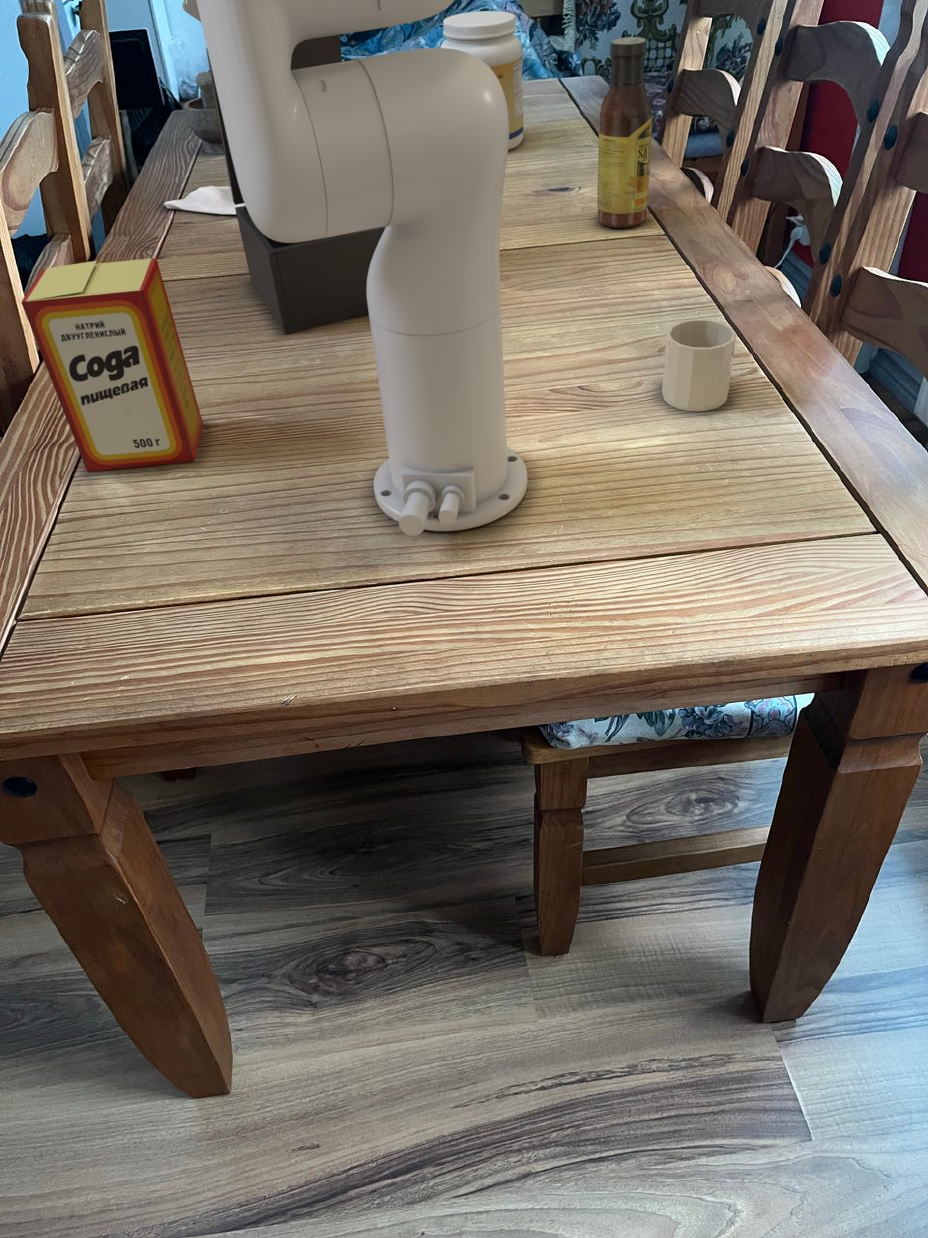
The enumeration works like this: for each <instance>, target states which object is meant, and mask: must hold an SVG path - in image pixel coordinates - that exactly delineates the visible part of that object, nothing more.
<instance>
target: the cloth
mask: <svg viewBox="0 0 928 1238" xmlns="http://www.w3.org/2000/svg"><path fill="white" fill-rule="evenodd" d="M162 204H163V206H164V207H165V208H166V209H172V210H181V211H187V212H193V213H195V212H196V213H203V214H205V213H206V214H218V215H234V216H235V215H236V210H235V208H236V207H240V206H245V203H242V204H237V205H235V204H234V202H233V198H232V193H231V187H230V186H214V185H209V186H200V187H198V188H197V189H196V190H194V191H191V192H190V193H188V195H187V196H186V197H184V198H182V199H174V200H167V201H165V202H164V203H162ZM236 216H237V215H236Z"/></svg>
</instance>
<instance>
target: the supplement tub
mask: <svg viewBox="0 0 928 1238" xmlns="http://www.w3.org/2000/svg"><path fill="white" fill-rule="evenodd" d="M442 23H443V31H442V35H443V37H444V38H445V40H443V41H442V43H441V45H440V47H439V48H448V49H456V50H460V51H463V52H467V53H469V54H471V55H473V56H475V57H477V58H479V59H480V60H481V61H483V62H484V63H485V64H487V65H488V66H489V67H490V68H491V70H492V71H493V72H494V74H495V75H496V77H497V78H498V80H499V82H500V84H501V87H502V89H503V92H504V95H505V99H506V103H507V108H508V117H509V144H508V151H510V150H512V149H514V148H516V147H518V146H519V145H520V144H521V143H522V140H523V139H524V131H525V130H524V105H523V103H524V101H523V100H524V99H523V49H522V48H523V46H522V43H521V41H520V39H519V38H518V36H516V35H514V34H515V32H516V31H517V25H516V17H515V14H513V13H512V12H507V11H499V10H483V11H482V10H481V11H469V12H462V13H458V14H454V15H450V16H448V17H446V18H444V19H443V21H442Z"/></svg>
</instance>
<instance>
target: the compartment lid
mask: <svg viewBox="0 0 928 1238" xmlns="http://www.w3.org/2000/svg"><path fill="white" fill-rule="evenodd" d="M205 52H206V56H207V61H208V63H207V64H208V68H209V72H210V74H211V80H212V85H213V91H214V97H215V102H216V108H217V114H218V119H219V125H220V131H221V136H222V142H223V148H224V153H225V154H224V159H225V164H226V165H225V166H226V169H227V175H228V181H229V187H231V193H232V198H233V202H234V204H235V205H237V204H242V203H244V200H243V198H242V194H241V191H240V188H239V184H238V181H237V177H236V173H235V168H234V164H233V160H232V156H231V152H230V148H229V143H228V139H227V134H226V130H225V125H224V121H223V116H222V112H221V107H220V103H219V98H218V94H217V90H216V85H215V81H214V76H213V72H212V67H211V63H210V59H209V54H208V50H207V47H206V48H205ZM342 58H343V57H342V41H341V34H340V35H333V36H326V37H320V38H314V39H308V40H304V41H302V42H300V43H299V44H297V45H296V47H295V48H294V50H293V53H292V57H291V70H295V69H302V68H308V67H314V66H320V65H327V64H333V63H339V62H343V59H342Z"/></svg>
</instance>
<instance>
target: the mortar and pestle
mask: <svg viewBox="0 0 928 1238" xmlns="http://www.w3.org/2000/svg"><path fill="white" fill-rule="evenodd" d="M195 83H196V86H198V87H199V91H200V96H199V97H195V98H193V99H191V100H189V101H186V102H184V105H183V111H184V116H185V119H186V122H187V124H188V127H189V128H190V129H191V131H192V132H193V133H194V136H196V137H198V139H200V140H201V141H202V142H204V144H203V146H204V152H205V153H206V154H210V155H225V153H224V148H223V142H222V136H221V131H220V125H219V119H218V114H217V108H216V102H215V97H214V91H213V85H212V80H211V74H210V71H201V72H199V73H198V74H197V75H196V76H195Z"/></svg>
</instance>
